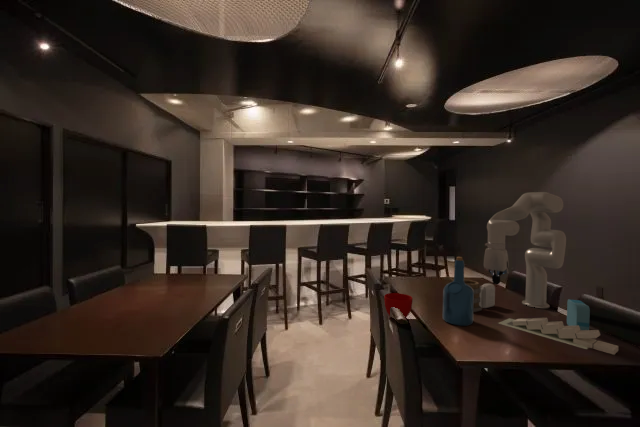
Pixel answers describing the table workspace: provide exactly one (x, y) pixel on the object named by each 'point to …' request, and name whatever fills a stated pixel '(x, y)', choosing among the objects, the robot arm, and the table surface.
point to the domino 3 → (562, 330)
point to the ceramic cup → (398, 302)
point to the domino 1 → (530, 321)
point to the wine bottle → (458, 298)
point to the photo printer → (487, 295)
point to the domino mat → (538, 332)
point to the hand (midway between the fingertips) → (496, 283)
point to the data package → (578, 314)
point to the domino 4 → (581, 334)
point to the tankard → (476, 292)
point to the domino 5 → (596, 345)
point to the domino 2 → (546, 326)
